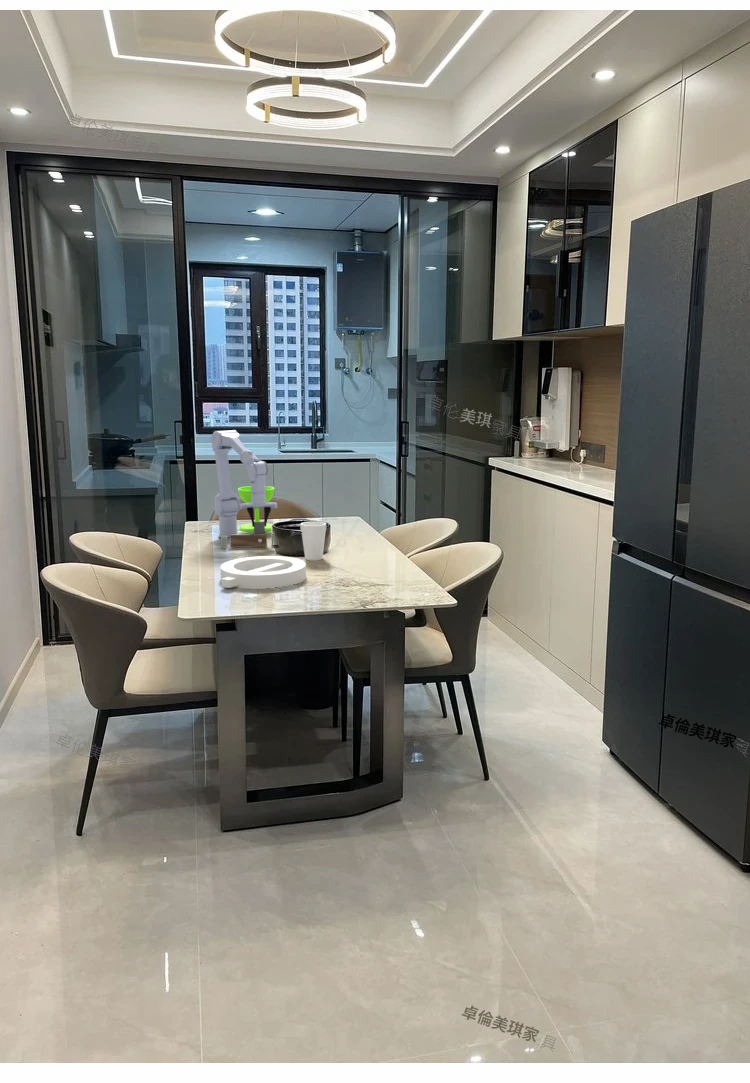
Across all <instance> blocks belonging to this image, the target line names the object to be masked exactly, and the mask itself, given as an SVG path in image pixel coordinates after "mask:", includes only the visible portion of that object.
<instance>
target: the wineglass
mask: <svg viewBox="0 0 750 1083" xmlns="http://www.w3.org/2000/svg"><path fill="white" fill-rule="evenodd" d="M265 488H266V502H270V501H271V500H272V498H273V496H274V494H275V487H274V486H270V485H269V486H268V485H265ZM237 492H238V497H240V499H241V500H242V501H243V502H244V503H251V485H248V486H240V487H238V488H237ZM254 507H257V506H254ZM254 522H261V521H260V508H254ZM272 525H273V524H272V523H266V526H265V532H271V527H272ZM239 531H241V532H247V533H254V527H253V526H252V523H247V524H242V525H241V526H239Z"/></svg>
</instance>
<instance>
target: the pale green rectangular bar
mask: <svg viewBox="0 0 750 1083" xmlns="http://www.w3.org/2000/svg"><path fill="white" fill-rule="evenodd" d="M272 534H273V533H271V535H270V536H271V537H270V538H271V546H272V547H274V546H273V535H272ZM220 544H221V545H220V547H221V549H227V548H228V537H227V536H221V537H220Z"/></svg>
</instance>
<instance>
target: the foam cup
mask: <svg viewBox="0 0 750 1083" xmlns="http://www.w3.org/2000/svg"><path fill="white" fill-rule="evenodd" d="M300 532H302V533H301V539H302V546H303V553H304V559H305V560H307V561H320V560H322V559H323V557H324V551H325V550H324V548H325V540H326V532H327V523H326V522H323V521H304V522H301V523H300Z"/></svg>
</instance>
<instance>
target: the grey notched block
mask: <svg viewBox="0 0 750 1083" xmlns="http://www.w3.org/2000/svg"><path fill="white" fill-rule="evenodd" d="M253 534H266V533H265V522H264V521H260V522H255V521H254V532H253Z"/></svg>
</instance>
